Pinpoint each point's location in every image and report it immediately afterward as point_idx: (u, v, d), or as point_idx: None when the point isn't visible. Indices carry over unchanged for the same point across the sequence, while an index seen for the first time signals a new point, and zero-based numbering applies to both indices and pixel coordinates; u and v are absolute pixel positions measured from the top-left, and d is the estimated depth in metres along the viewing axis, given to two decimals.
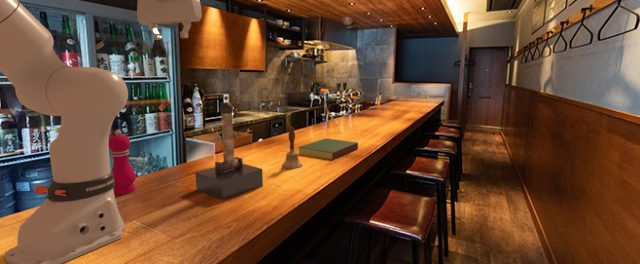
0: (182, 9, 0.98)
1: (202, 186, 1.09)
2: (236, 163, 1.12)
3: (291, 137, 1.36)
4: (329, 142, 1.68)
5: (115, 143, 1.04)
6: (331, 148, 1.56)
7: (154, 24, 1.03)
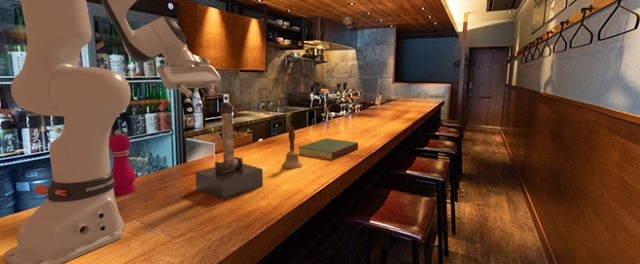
0: (209, 74, 1.22)
1: (202, 186, 1.09)
2: (236, 163, 1.12)
3: (291, 137, 1.36)
4: (329, 142, 1.68)
5: (115, 143, 1.04)
6: (331, 148, 1.56)
7: None
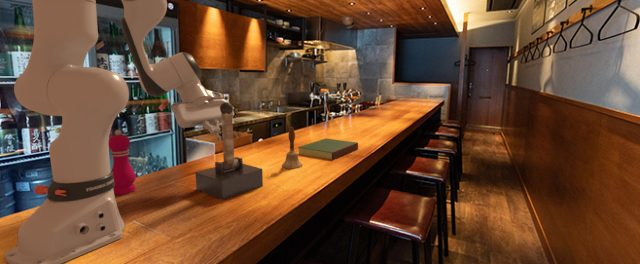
0: None
1: (202, 186, 1.09)
2: (236, 163, 1.12)
3: (291, 137, 1.36)
4: (329, 142, 1.68)
5: (115, 143, 1.04)
6: (331, 148, 1.56)
7: None
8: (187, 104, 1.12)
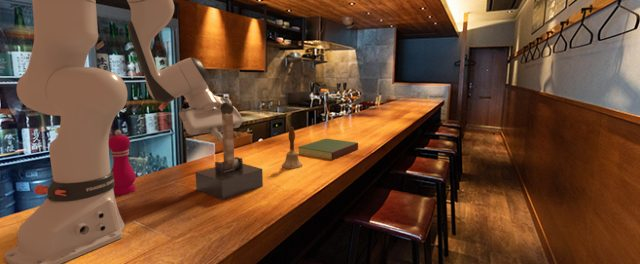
0: None
1: (202, 186, 1.09)
2: (236, 163, 1.12)
3: (291, 137, 1.36)
4: (329, 142, 1.68)
5: (115, 143, 1.04)
6: (331, 148, 1.55)
7: None
8: (195, 110, 1.09)
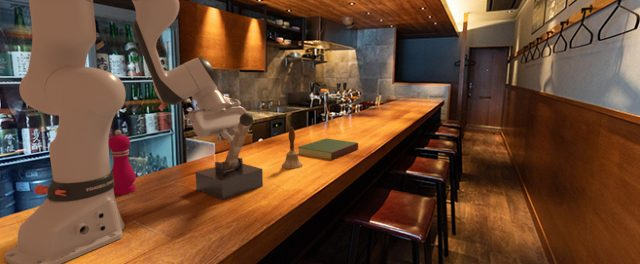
0: None
1: (202, 186, 1.09)
2: (236, 165, 1.12)
3: (291, 137, 1.36)
4: (329, 142, 1.68)
5: (115, 143, 1.04)
6: (330, 148, 1.55)
7: None
8: (205, 112, 1.06)
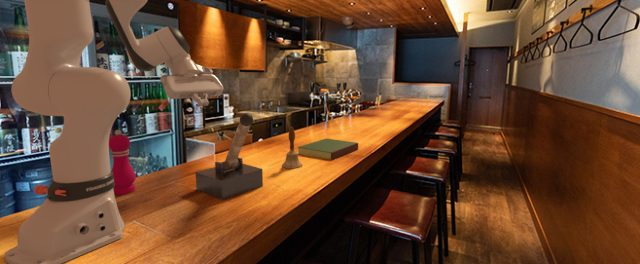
0: (212, 84, 1.22)
1: (202, 186, 1.09)
2: (236, 165, 1.12)
3: (291, 137, 1.36)
4: (329, 142, 1.68)
5: (115, 143, 1.04)
6: (330, 148, 1.55)
7: None
8: (176, 76, 1.14)
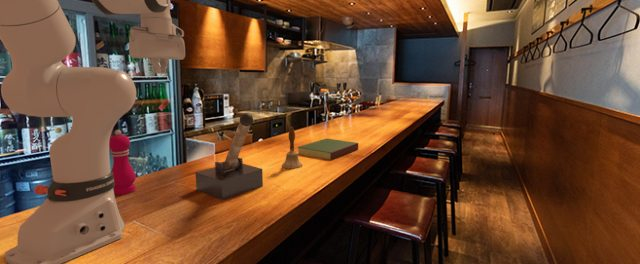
0: (177, 50, 1.14)
1: (202, 186, 1.09)
2: (236, 165, 1.12)
3: (291, 137, 1.36)
4: (329, 142, 1.68)
5: (115, 143, 1.04)
6: (330, 148, 1.55)
7: None
8: (148, 35, 1.03)
